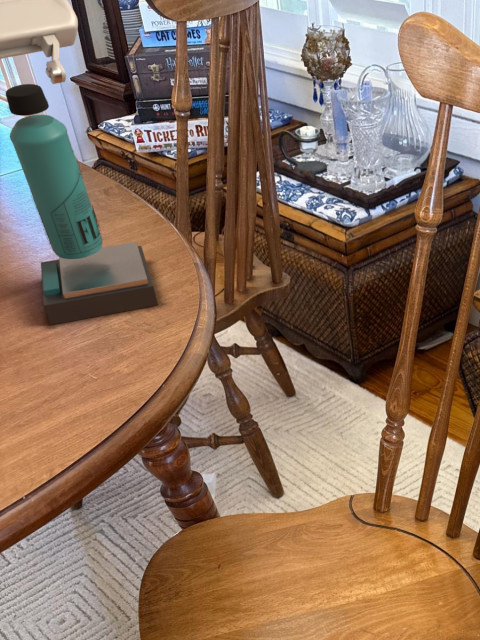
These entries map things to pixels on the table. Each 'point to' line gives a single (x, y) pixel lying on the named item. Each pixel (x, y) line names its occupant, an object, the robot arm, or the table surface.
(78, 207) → the beverage bottle
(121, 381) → the table surface
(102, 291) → the kitchen scale
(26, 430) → the table surface
